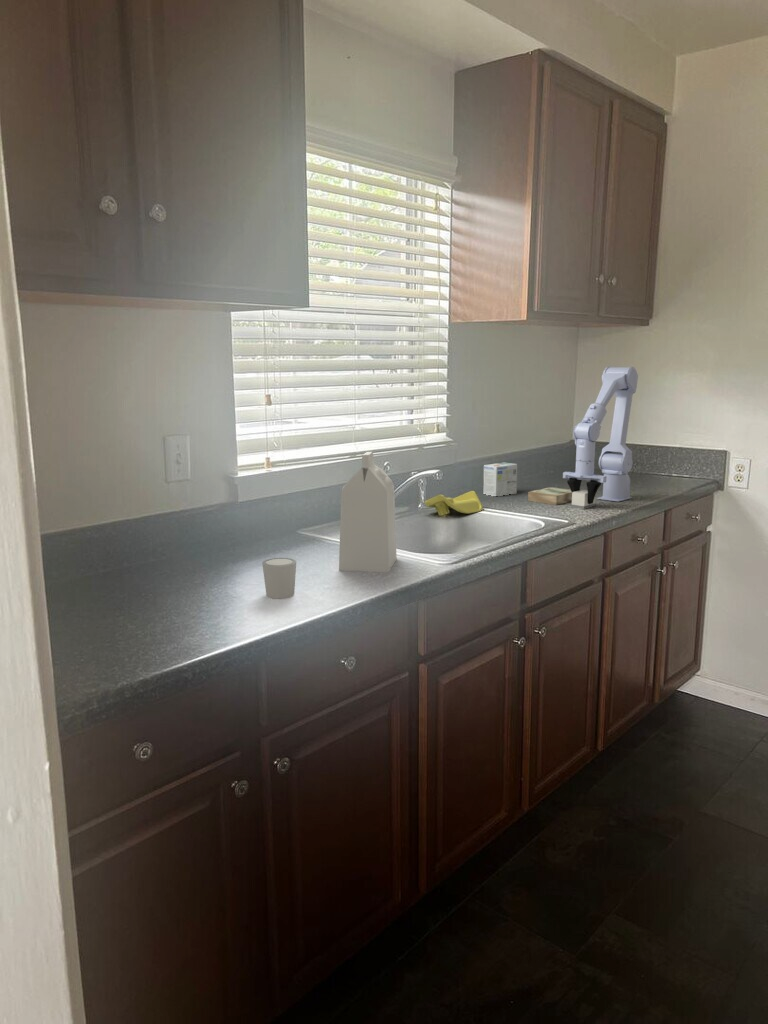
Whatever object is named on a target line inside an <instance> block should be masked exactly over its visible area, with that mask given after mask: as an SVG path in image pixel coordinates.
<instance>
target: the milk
mask: <svg viewBox="0 0 768 1024" xmlns="http://www.w3.org/2000/svg"><path fill="white" fill-rule="evenodd" d="M361 456H362V457H361V468H360V469H359V470H358V471H357V472H356V473H355V474H354V475H353V476H351V478H350V479H349V480H347V482H346V483H345V484H344V485H343V486H342V488H341V493H340V495H341V496H340V521H339V524H340V525H339V553H338V555H339V558H338V571H351V572H353V571H354V572H377V573H390V571H391V569H392V567H394V564H395V562H396V561H397V559H398V558H397V557H398V556H397V555H398V554H397V535H396V532H397V529H396V506H395V505H396V501H395V486H394V485H395V484H394V482H393V480H392V479H391V478H390V476H389V475H388V474H387V472H386V471H385V470H384V469H383V468H382V467H380V466H378V465H377V464H376V463H375V458H374V457H375V456H374V452H373V451H367V452H364V453H363V454H362V455H361Z"/></svg>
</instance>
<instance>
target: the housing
mask: <svg viewBox="0 0 768 1024" xmlns="http://www.w3.org/2000/svg"><path fill="white" fill-rule="evenodd" d="M595 498H596V496H595V497H594V500H593V503H592V504H588V489H580V490H579V491H575V492H572V501H571V505H570V506H571V507H572V509H578V508H581V509H580V510H586V509H585V508H587V509H589V508H588V507H591V508H593V507H592V506H594V507H596V503H595ZM571 507H570V508H571Z"/></svg>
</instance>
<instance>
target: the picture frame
mask: <svg viewBox="0 0 768 1024" xmlns="http://www.w3.org/2000/svg"><path fill="white" fill-rule="evenodd" d="M527 501H528V502H535V503H540V504H547V505H548V504H549V505H555V506H557V505H562V504H566V503H570V502H572V492H571V489H570V488H561V487H555V486H550V487H545V488H541V489H536V490H535V489H534V490H530V491H528V492H527Z"/></svg>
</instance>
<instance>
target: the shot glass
mask: <svg viewBox="0 0 768 1024" xmlns="http://www.w3.org/2000/svg"><path fill="white" fill-rule="evenodd" d="M261 564H262V571H263V579H264V585H265V593H266V597H267V598H269V599H272V600H283V599H290V598H292V597H294V596H295V588H296V574H297V572H296V571H297V570H296V569H297V560H296V559H293V558H289V557H275V558H268V559H265V560H263V561H262V563H261Z"/></svg>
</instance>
